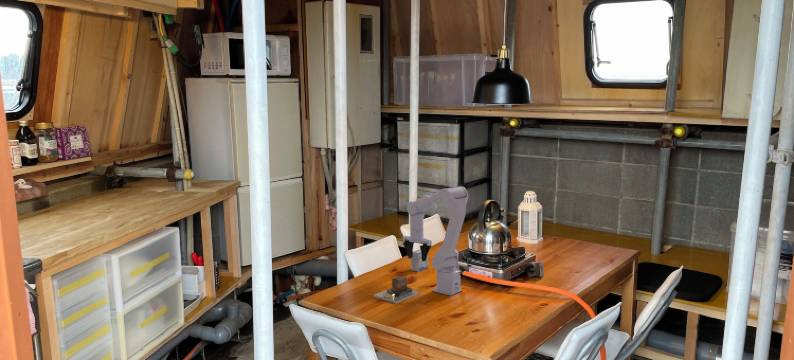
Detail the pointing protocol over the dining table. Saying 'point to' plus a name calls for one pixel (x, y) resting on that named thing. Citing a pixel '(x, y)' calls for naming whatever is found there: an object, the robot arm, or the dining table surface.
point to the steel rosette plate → (396, 295)
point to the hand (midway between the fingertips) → (417, 259)
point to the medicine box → (418, 261)
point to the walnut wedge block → (399, 283)
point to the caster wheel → (534, 268)
